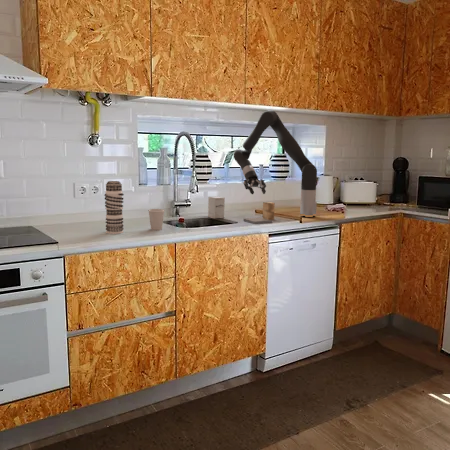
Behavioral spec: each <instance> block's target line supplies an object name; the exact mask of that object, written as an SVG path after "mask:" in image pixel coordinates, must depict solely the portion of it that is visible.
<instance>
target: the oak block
mask: <svg viewBox="0 0 450 450" xmlns="http://www.w3.org/2000/svg"><path fill="white" fill-rule="evenodd" d="M275 206H276V205H275V202H271V201H267V202H263V203H262V218H264V219H268V220H272V221H273V220H275V208H276V207H275Z"/></svg>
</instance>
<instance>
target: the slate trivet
mask: <svg viewBox="0 0 450 450" xmlns="http://www.w3.org/2000/svg"><path fill="white" fill-rule="evenodd" d="M243 222H247V223H250V224H255V225H256V224H258V225H259V224H271V223H273V219H272V220H268V219H264V218H263V217H252V218H251V217H250V218H243Z"/></svg>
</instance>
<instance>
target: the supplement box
mask: <svg viewBox="0 0 450 450" xmlns="http://www.w3.org/2000/svg"><path fill="white" fill-rule="evenodd" d="M207 204H208V206H207V207H208V208H207V211H208V212H207V214H208V215H207V216H208V218H212V219H214V220H215V219H224V218H225V197H224V196H209V197H208V201H207Z"/></svg>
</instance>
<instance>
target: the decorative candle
mask: <svg viewBox="0 0 450 450" xmlns="http://www.w3.org/2000/svg"><path fill="white" fill-rule="evenodd" d="M124 195H125V194H124V193H123V183H121V181H119V180H109V181H107V182H106V183H105V194H104V200H105V202H104V207H105V210H106V211H105V212H106V215H105V223H106V224H105V227H106V228H105V233H106V234H111V235H117V234H118V235H119V234H123V233H124V224H123V223H124V216H123V209H124V205H123V203H124V197H123V196H124Z"/></svg>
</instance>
